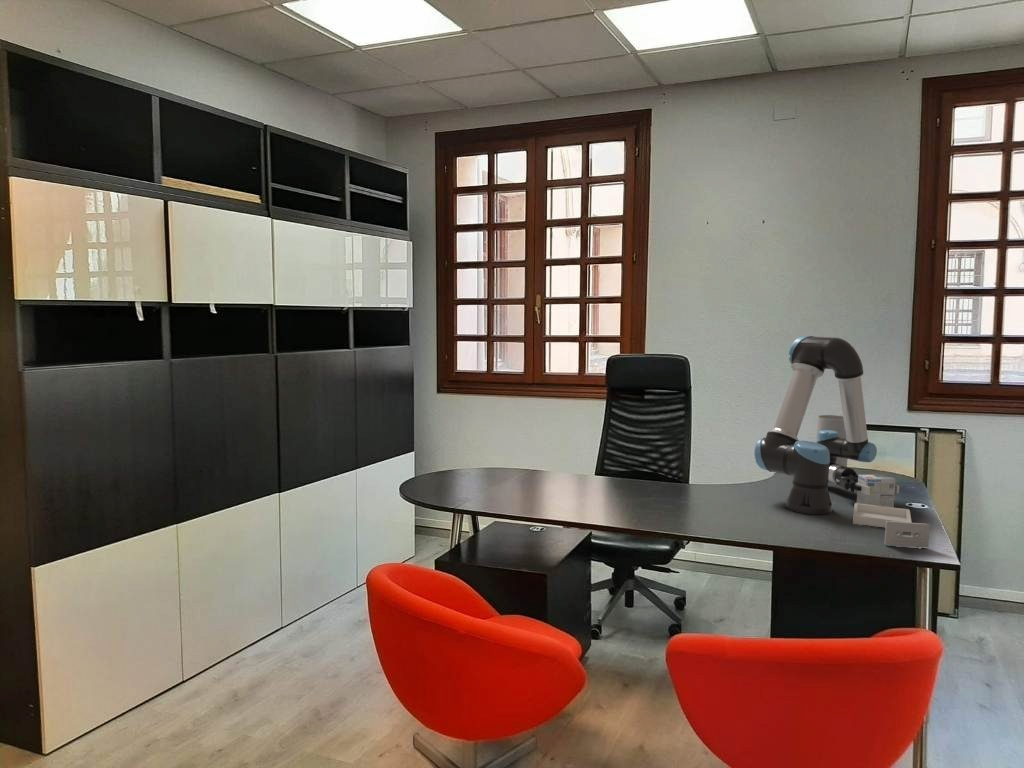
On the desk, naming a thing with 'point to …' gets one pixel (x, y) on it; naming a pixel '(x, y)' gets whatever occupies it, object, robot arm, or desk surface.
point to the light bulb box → (877, 490)
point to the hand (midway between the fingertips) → (883, 490)
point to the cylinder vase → (834, 425)
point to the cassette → (904, 540)
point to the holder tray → (879, 515)
